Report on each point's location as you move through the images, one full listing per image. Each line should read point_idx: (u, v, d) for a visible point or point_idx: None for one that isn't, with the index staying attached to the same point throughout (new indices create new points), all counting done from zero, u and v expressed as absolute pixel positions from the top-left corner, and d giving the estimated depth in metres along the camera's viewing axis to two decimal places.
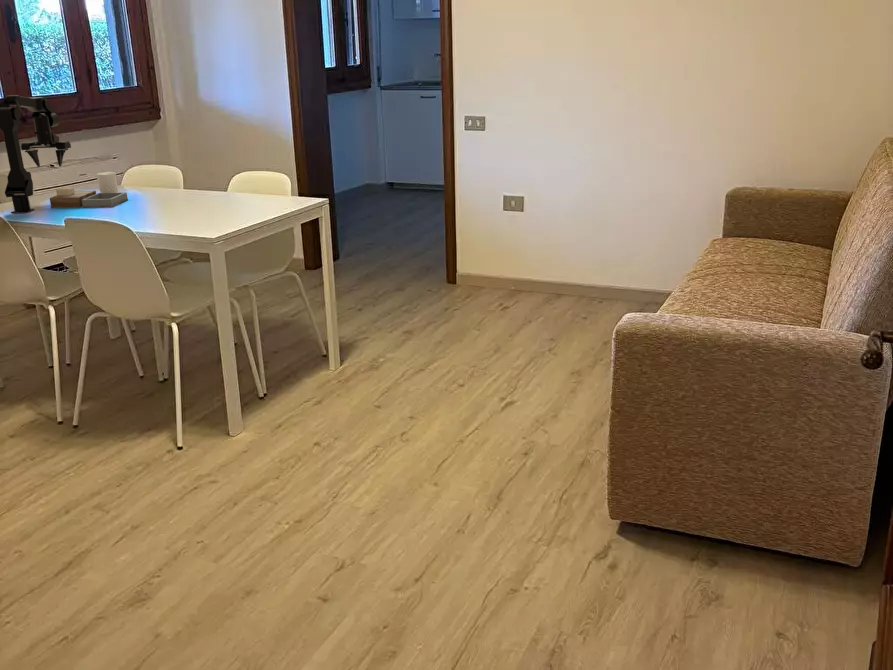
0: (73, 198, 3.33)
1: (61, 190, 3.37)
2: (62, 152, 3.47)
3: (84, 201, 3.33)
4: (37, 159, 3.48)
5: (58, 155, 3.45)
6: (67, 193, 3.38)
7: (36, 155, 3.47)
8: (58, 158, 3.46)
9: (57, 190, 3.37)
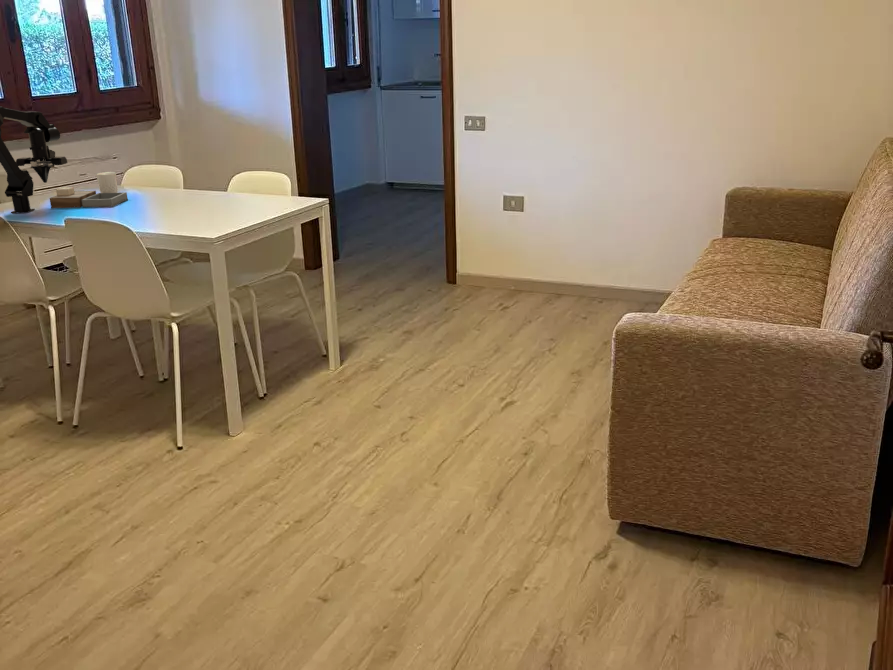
0: (73, 198, 3.33)
1: (61, 190, 3.37)
2: (48, 168, 3.38)
3: (84, 201, 3.33)
4: None
5: (43, 171, 3.35)
6: (67, 193, 3.38)
7: None
8: (43, 174, 3.36)
9: (57, 190, 3.37)
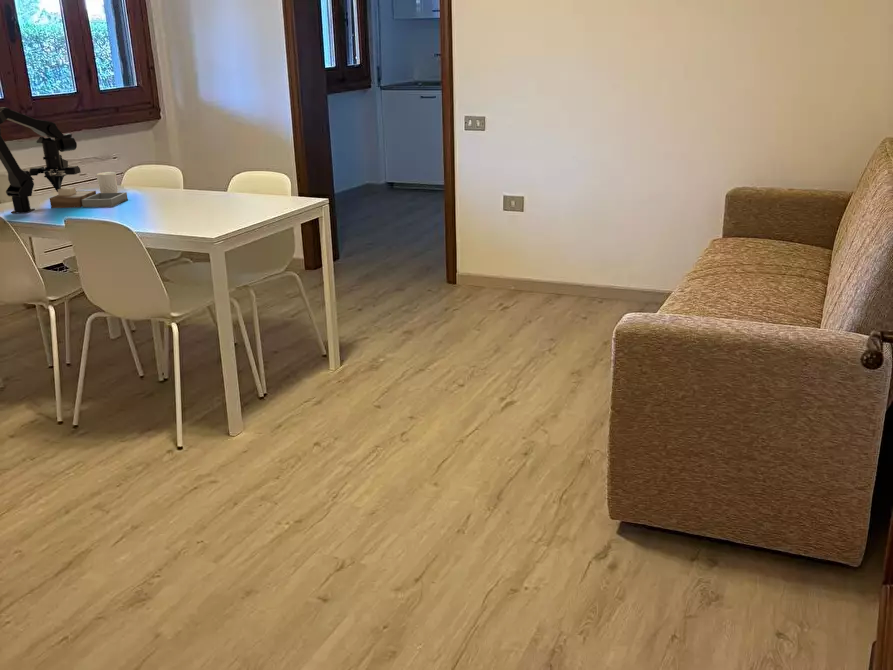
0: (73, 198, 3.33)
1: (63, 190, 3.37)
2: (61, 177, 3.39)
3: (84, 201, 3.33)
4: None
5: (57, 181, 3.36)
6: (69, 193, 3.38)
7: None
8: (57, 184, 3.37)
9: (59, 190, 3.37)
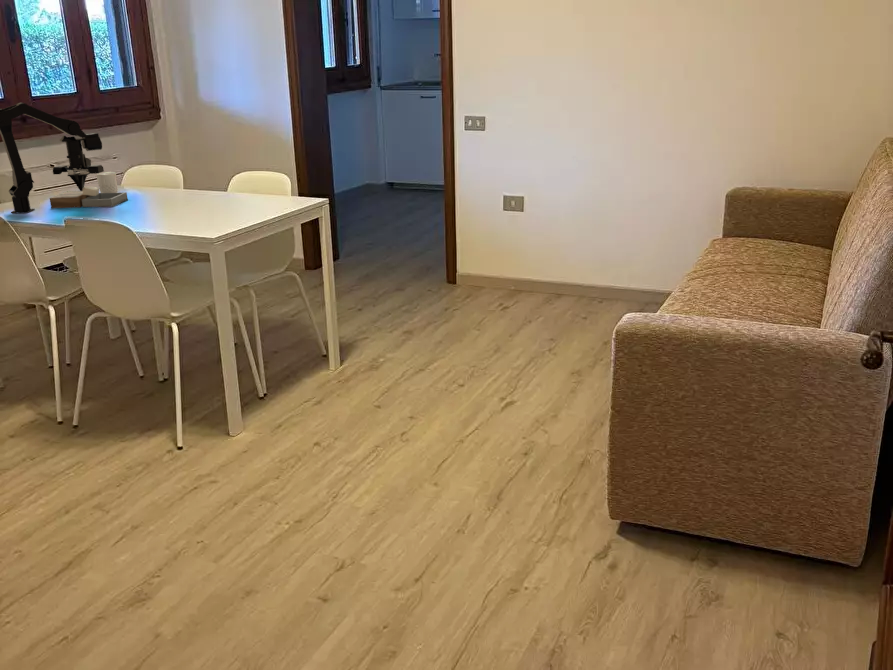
0: (73, 198, 3.33)
1: (88, 190, 3.37)
2: (84, 176, 3.38)
3: (84, 201, 3.33)
4: None
5: (80, 180, 3.36)
6: (94, 194, 3.38)
7: None
8: (80, 183, 3.37)
9: (84, 189, 3.37)
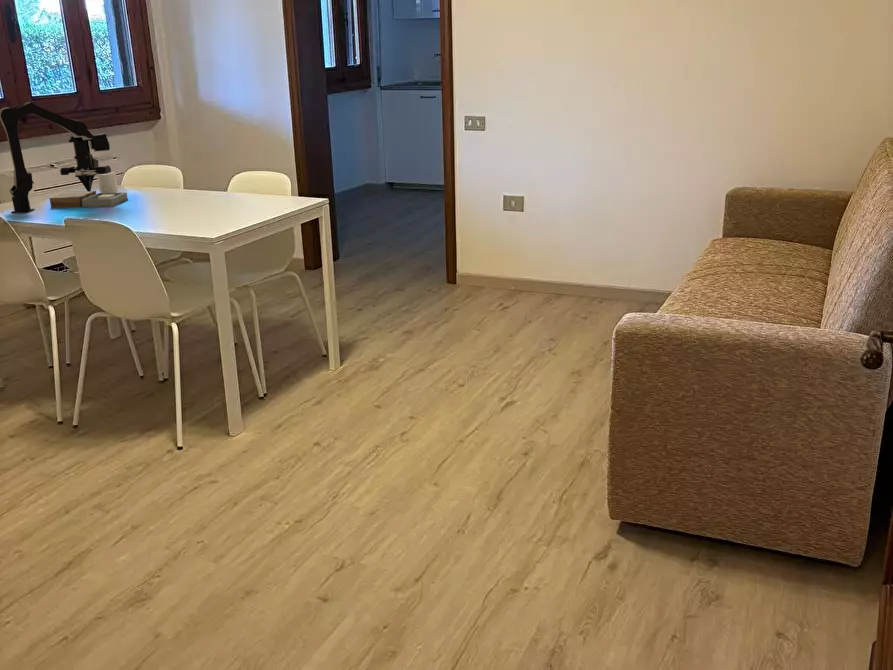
0: (73, 198, 3.33)
1: None
2: (91, 177, 3.38)
3: (84, 201, 3.33)
4: None
5: (88, 180, 3.36)
6: (99, 198, 3.39)
7: None
8: (88, 183, 3.37)
9: None
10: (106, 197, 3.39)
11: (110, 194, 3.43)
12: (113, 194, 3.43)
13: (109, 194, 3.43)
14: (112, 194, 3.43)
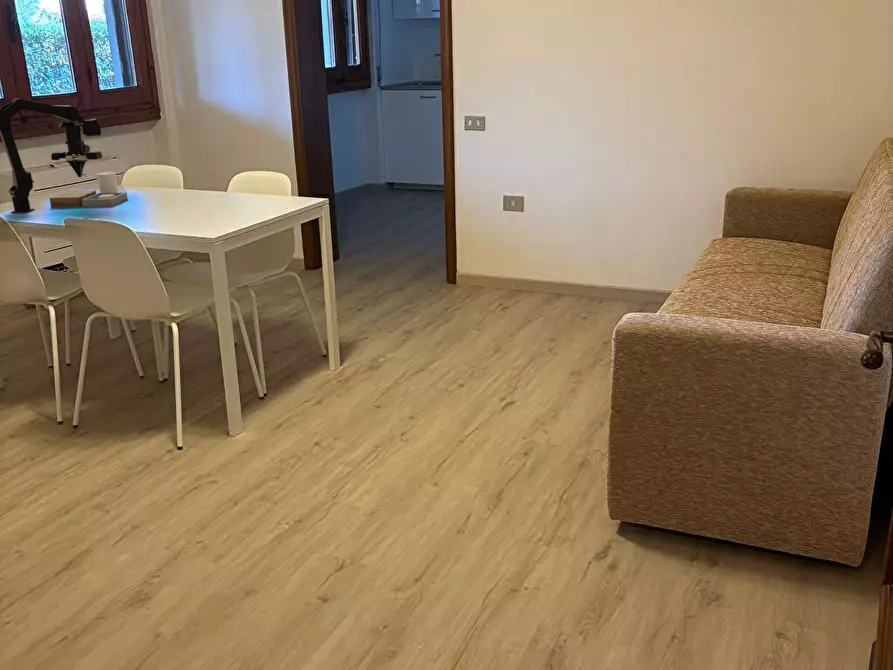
0: (73, 198, 3.33)
1: None
2: (82, 162, 3.37)
3: (84, 201, 3.33)
4: None
5: (78, 166, 3.34)
6: (99, 198, 3.39)
7: (77, 165, 3.37)
8: (78, 169, 3.35)
9: None
10: (106, 197, 3.39)
11: (110, 194, 3.43)
12: (113, 194, 3.43)
13: (109, 194, 3.43)
14: (112, 194, 3.43)
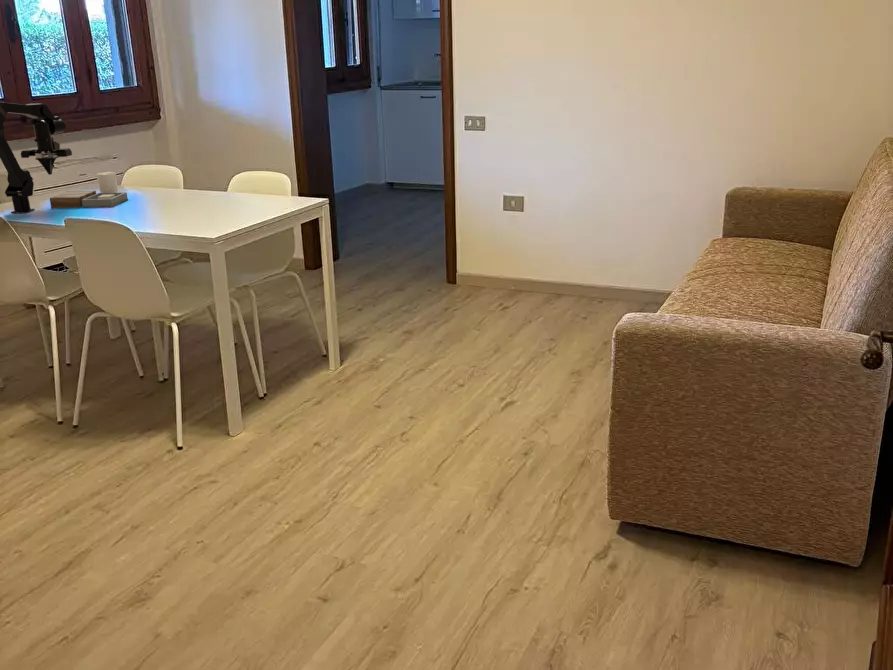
0: (73, 198, 3.33)
1: None
2: (52, 160, 3.39)
3: (84, 201, 3.33)
4: None
5: (48, 163, 3.36)
6: (99, 198, 3.39)
7: None
8: (48, 166, 3.37)
9: None
10: (106, 197, 3.39)
11: (110, 194, 3.43)
12: (113, 194, 3.43)
13: (109, 194, 3.43)
14: (112, 194, 3.43)
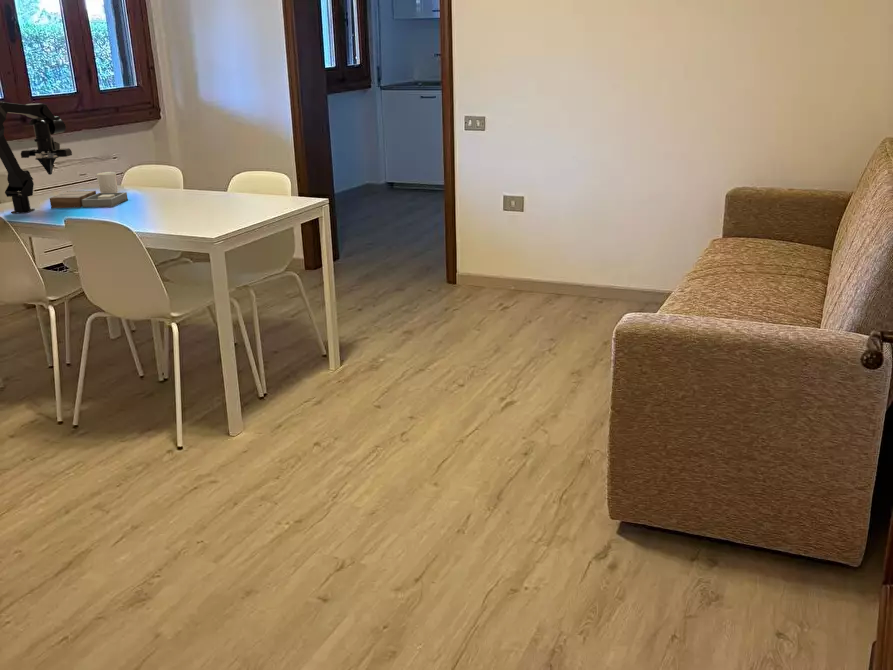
0: (73, 198, 3.33)
1: None
2: (52, 160, 3.39)
3: (84, 201, 3.33)
4: None
5: (48, 163, 3.36)
6: (99, 198, 3.39)
7: None
8: (48, 166, 3.37)
9: None
10: (106, 197, 3.39)
11: (110, 194, 3.43)
12: (113, 194, 3.43)
13: (109, 194, 3.43)
14: (112, 194, 3.43)
